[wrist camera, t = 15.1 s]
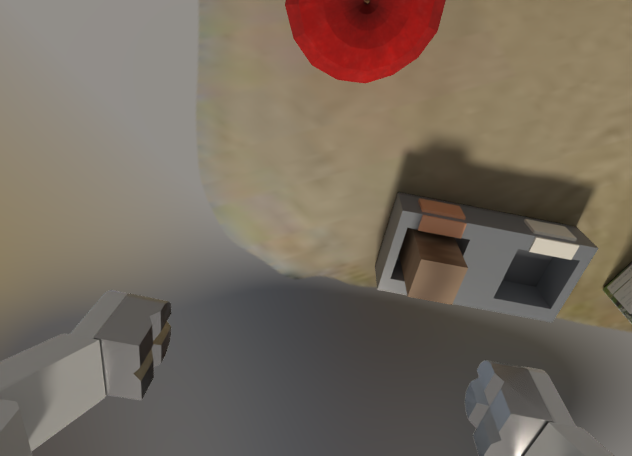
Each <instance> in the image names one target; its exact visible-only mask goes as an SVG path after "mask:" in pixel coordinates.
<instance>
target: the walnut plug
mask: <svg viewBox="0 0 632 456" xmlns="http://www.w3.org/2000/svg"><path fill="white" fill-rule="evenodd" d="M399 256H400V261H401V266H402V271H403V276H404V281H405V286H406V291H407V296H408V297H413V298H418V299H424V300H429V301H435V302H440V303H446V304H451V305H452V304H453V301H454V299H455V297H456V295H457V292H458V290H459V288H460V285H461V283H462V281H463V279H464V276H465V274H466V272H467V270H468V267H467V264H466V262H465V260H464V258H463V255H462V253H461V251H460V249H459V247H458V244H457V242H456V240H455V238H454V237H449V236H444V235H439V234H434V233H429V232H423V231H418V230H417V229H412V228H407V231H406V234H405V237H404V240H403V243H402V246H401V249H400V252H399Z"/></svg>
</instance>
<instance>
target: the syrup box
mask: <svg viewBox="0 0 632 456" xmlns="http://www.w3.org/2000/svg"><path fill="white" fill-rule="evenodd" d="M603 291H604V292H605V294H606V295H607V296H608V297H609V298H610V299H611V300H612V302H613V303H614V304H615V305H616V306H617V308H618V309H619V310H620V311H621V312H622V313H623V315H624V316H625V317H626V318H627V319H628V320H629V321H630V323H631V324H632V262H631V263H630V264H629V265H628V266H627V267H626V268H625V269H624V270H623V271H622V272H621V273H620V274H618V275H617V276H616V277H615V278H614V279H613V280H612V281H611V282H610V283H609V284H608V285H607V286H606V287H605V288H604V289H603Z"/></svg>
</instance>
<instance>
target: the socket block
mask: <svg viewBox="0 0 632 456" xmlns="http://www.w3.org/2000/svg"><path fill="white" fill-rule="evenodd" d="M407 228H412V229H417V230H418V231H423V232H429V233H434V234H439V235H444V236H449V237H454V238H455V240H456V242H457V244H458V247H459V249H460V251H461V253H462V255H463V258H464V260H465V262H466V264H467V267H468V270H467V272H466V274H465V276H464V279H463V281H462V283H461V285H460V288H459V290H458V292H457V295H456V297H455V299H454V301H453V304H456V305H462V306H467V307H472V308H477V309H483V310H488V311H494V312H499V313H504V314H510V315H515V316H521V317H526V318H531V319H536V320H541V321H547V322H553V321H554V319H555V317H556V316H557V314H558V313H559V311H560V309H561V308H562V306H563V304H564V303H565V301H566V300H567V298H568V296H569V295H570V293H571V292H572V290H573V288H574V287H575V285H576V284H577V282H578V280H579V279H580V277H581V276H582V274H583V272H584V271H585V269H586V267H587V266H588V264H589V263H590V261H591V259H592V258H593V256H594V255H595V253H596V251H597V250H598V247H597V246H595V245H594V244H593V243H592V242H591V241H590V240H589V239H588V238H587V237H586V236H585V235H584V234H583V233H582V232H581V231H580V230H579V229H578V228H577V227H575V226H570V225H565V224H560V223H555V222H550V221H545V220H539V219H534V218H529V217H524V216H519V215H514V214H509V213H503V212H498V211H493V210H488V209H483V208H478V207H473V206H467V205H462V204H457V203H452V202H447V201H442V200H437V199H431V198H426V197H421V196H416V195H411V194H406V193H401V192H398V193H397V196H396V200H395V203H394V206H393V210H392V213H391V216H390V219H389V223H388V226H387V229H386V232H385V236H384V239H383V242H382V246H381V249H380V252H379V255H378V259H377V262H376V265H375V271H376V281H377V290H382V291H388V292H393V293H398V294H404V295H407V291H406V286H405V281H404V276H403V271H402V266H401V261H400V256H399V252H400V249H401V246H402V243H403V240H404V237H405V234H406V231H407Z"/></svg>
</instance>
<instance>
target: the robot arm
mask: <svg viewBox="0 0 632 456" xmlns="http://www.w3.org/2000/svg"><path fill="white" fill-rule="evenodd" d="M170 315H171V303H170V302H168V301H163V300H159V299H155V298H150V297H145V296H140V295H136V294H131V293H130V294H128V293H124V292H118V291H115V290H109V291H107V292H106V293H104V294H103V295H102V297H101V298H100V299H99V300H98V301H97V303H96V304H95V305H94V306H93V307H92V308H91V310H90V311H89V312H88V313H87V314H86V315H85V317H84V318H83V319H82V320H81V321H80V322H79V324H78V325H77V326H76V327H75V328H74V330H73V331H72V332H71V333H70V334H64V333H63V334H61V335H58V336H56V337H54V338H52V339H49V340H47V341H45V342H43V343H40V344H38V345H36V346H34V347H31V348H29V349H27V350H25V351H23V352H20V353H18V354H16V355H14V356H12V357H9V358H7V359H5V360H3V361H0V456H32V453H31V451H33V450H34V449H35V448H37V447H38V446H39V445H41V444H42V443H44V442H45V441H46V440H48V439H49V438H50V437H52V436H53V435H54V434H56V433H57V432H59V431H60V430H61V429H63V428H64V427H65V426H67V425H68V424H70V423H71V422H72V421H74V420H75V419H76V418H78V417H79V416H80V415H82V414H83V413H85V412H86V411H87V410H89V409H90V408H91V407H93V406H94V405H96V404H97V403H98V402H100V401H101V400H102V399H104V398H105V397H106V396H105V395H109V396H116V397H122V398H129V399H136V400H142V399H143V397H144V395H145V393H146V391H147V389H148V387H149V386H150V384H151V382H152V380H153V378H154V367H156V366H158V365H159V364H161V363H162V361H163V359H164V357H165V355H166V352H167V349H168V346H169V342H170V337H171V326H170V325H169V323H168V322H167V320H168V318H169V317H170ZM477 372H478V375H479V378H477V379H475V380H473V381H471V382H470V384H469V386H468V388H467V390H466V396H465V410H466V414H467V417H468V420H469V421H470V422H471V423H472V424H473V425H474V426H475V427H476V430H475V432H474V434H473V438H474V441H475V445H476V448H477V452H478V455H479V456H614V455H613V454H612V453H611V452H610V451H608V450H607V449H606V448H605V447H604V446H603V445H601V444H600V443H599V442H598V441H597V440H596V439H595V438H593V437H592V436H591V435H590V434H589V433H588V432H587V431H585V430H584V429H583V428H579V427H576V425H575V423H574V421H573V420H572V418H571V416H570V414H569V412H568V410H567V408H566V407H565V405H564V403H563V402H562V399H561V398H560V396H559V394H558V392H557V390H556V388H555V386H554V385H553V383H552V381H551V379H550V377H549V376H548V374H547V373H546V372H544V370H540V369H534V368H528V367H521V366H515V365H509V364H504V363H498V362H493V361H487V360H485V361H483V362H482V363H481V364H480V365H479V368H478V369H477Z"/></svg>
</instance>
